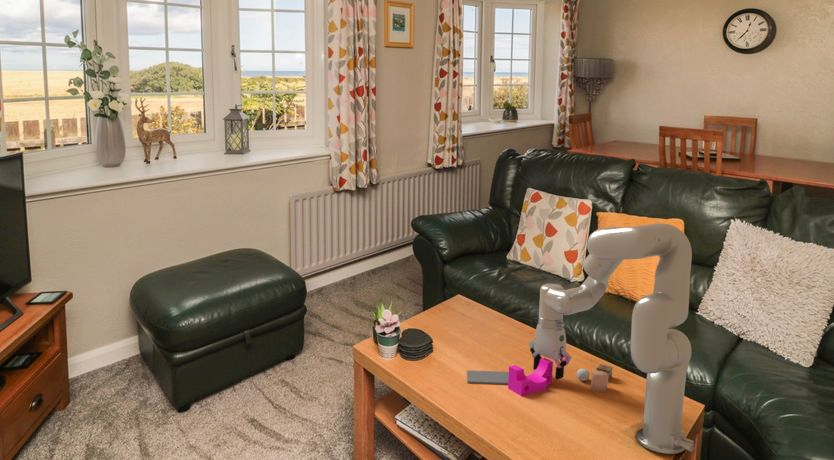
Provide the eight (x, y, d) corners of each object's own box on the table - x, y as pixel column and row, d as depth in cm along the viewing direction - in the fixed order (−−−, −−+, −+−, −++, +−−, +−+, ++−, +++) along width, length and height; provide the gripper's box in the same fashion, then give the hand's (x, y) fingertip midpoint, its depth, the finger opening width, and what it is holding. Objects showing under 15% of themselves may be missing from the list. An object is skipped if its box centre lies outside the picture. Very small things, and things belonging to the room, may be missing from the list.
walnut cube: (611, 378, 191) (612, 366, 190) (608, 382, 187) (609, 370, 187) (599, 375, 193) (600, 364, 192) (595, 379, 189) (596, 367, 189)
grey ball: (591, 381, 188) (592, 369, 187) (584, 384, 186) (584, 372, 185) (581, 377, 191) (582, 365, 190) (573, 379, 189) (574, 368, 188)
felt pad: (517, 373, 193) (517, 372, 193) (520, 385, 184) (520, 383, 184) (466, 372, 194) (466, 370, 194) (467, 383, 185) (467, 381, 185)
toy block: (521, 396, 176) (522, 373, 175) (508, 389, 181) (508, 366, 180) (557, 386, 184) (558, 364, 183) (543, 379, 189) (544, 357, 188)
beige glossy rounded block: (610, 389, 182) (611, 374, 181) (601, 393, 179) (602, 378, 178) (597, 384, 186) (598, 369, 185) (587, 387, 183) (588, 372, 182)
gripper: (580, 327, 181) (577, 379, 184) (538, 313, 195) (535, 362, 197) (564, 331, 176) (561, 385, 179) (522, 317, 190) (520, 367, 193)
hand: (548, 373), depth 188 cm, fingers open, 8 cm apart
